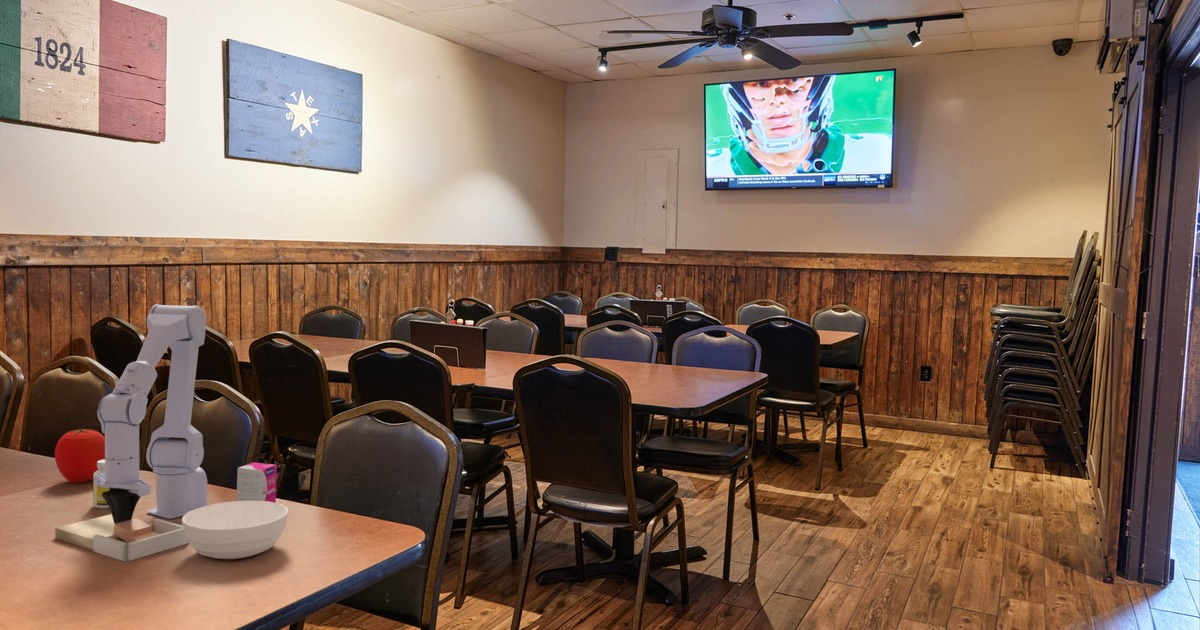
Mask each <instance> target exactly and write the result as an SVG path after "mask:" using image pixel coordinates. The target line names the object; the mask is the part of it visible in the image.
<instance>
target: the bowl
mask: <svg viewBox="0 0 1200 630" xmlns="http://www.w3.org/2000/svg"><path fill="white" fill-rule="evenodd" d="M288 516H289V509H288V507H287V506H285V505H283V504H280V503H277V502H276V503H273V502H267V501H237V500H236V501H235V500H234V501H226V502H225V501H224V502H218V503H212V504H207V506H204V507H200V508H197V509H194V510H192V511H190V512H188V513H186V514H185V515H183V516H182V517H181V523H182V524H181V525H182V526H183V529H184V534H185V536H186V537H187V538H188V539H189V545H190V546H191V547H192V548H193V549H194V551H196V552H197V553H198V554H199V555H202V556H204V557H209V558H213V559H217V560H239V559H245V558H249V557H253V556H256V555H258V554H260V553H263V552H265V551H267V550H269V549H271V548H272V547H273V546H274V545H275V544H276V543H277V542H278V540H279V539H280V538H281V534H282V531H284V530H285V528H286V526H287V521H288Z"/></svg>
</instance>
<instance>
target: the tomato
mask: <svg viewBox="0 0 1200 630" xmlns="http://www.w3.org/2000/svg"><path fill="white" fill-rule="evenodd" d="M104 459H105V435H103V434H102V433H101V432H99V431H97V430H94V429H87V428H85V429H84V428H79V429H76V430H71V431H67V432H65V433H64V434H63V435H62V436H61V437H60V438H59V439H58V442H57V443H56V445H55V450H54V460H55V464H56V467H57V469H58V471H59V473H60V474H61V475H62V477H64V478H65V480H67V481H68V482H71V483H74V484H77V483H78V484H79V483H85V482H89V481H91V480H92V481H93V475H94V473H95V472H96V471H98V468H97V462H98V461H99V460H104Z"/></svg>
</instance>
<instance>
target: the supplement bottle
mask: <svg viewBox="0 0 1200 630" xmlns="http://www.w3.org/2000/svg"><path fill="white" fill-rule="evenodd" d="M97 468H98V471H96V472H95V473H94V475H93V479H92V482H93V485H92V486H93V491H92V492H93V493H92V494H93V499H92V500H93V507H94V508H96V509H110V508H109V506H108V504H107V502H106V501H105V499H104V498H103V496H102V493H103V492H106V491H109V489H110V487H109V488H102V487H99V485H95V475H98V474H103V473H105V459H104V460H99V461H98V462H97Z"/></svg>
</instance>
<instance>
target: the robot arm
mask: <svg viewBox="0 0 1200 630" xmlns="http://www.w3.org/2000/svg"><path fill="white" fill-rule="evenodd" d="M146 326H147V331H148V333H147V335H146V338H145V340H144V341H143V345H142V347H141V349H140V352H139V354H138V356H137V359H136V361H132V362H130V363H127V365H126V367H125V368H124V371H123V373H122V375H121V376H120V378H119V379H118V382H117V383H116V385H115V387H114V389H113V390H112V392H111V393H109V394H107V395H106V396H104V397H103V398H102V399H101V400H100V401H99V403H98V410H97V411H96V413H97V414H96V415H97V418H98V420H99V422H100V427H101V428H100V429H101V432H102V433H103V434H104V437H105V473H103V474H98V475H95V485H99V487H102V488H109V487H110V489H109V491H106V492H103V493H102V496H103V498H104V499H105V501H106V502H107V504H108V506H109V508H108V509H109V510H110V514H112V517H113V521H114V524H116V523H120V522H124V521H127V520H131V519H132V517H133V515H134V513H135V509H136V506H137V504H138V503H139V500H140V499H141V497H145V496H150V495H151V494H152V489H151V487H152V484H151V483H147V482H146V481H145V480H143V478H141V477H140V424H141V423H142V421H143V420H144V419H145V418H146V417H145V416H146V413H147V404H148V403H149V402H148V401H149V399H148V395H149V393H150V392H151V389H152V387H153V386H154V384H155V381H156V380H157V378H158V373H157V370H156V367H157V365H158V363H160V361H161V359H162V358H163V356H164V354H165V353H166V351H167V350H168V348H169V349H170V350H171V355H170V356H171V357H170V358H171V359H170V367H169V374H168V375H169V377H168V386H167V394H166V404H165V412H164V422H163V424H162V425H161V426H160V427H158V428H157V429H156V430H154V431H153V432H152V433H151V437H150V440H149V444H148V447H147V449H146V455H145V456H146V462H147V465H148V466H149V468H151V469H152V472H153V473H155V474H156V480H155V481H156V483H155V484H156V488H155V489H156V492H155V494H156V496H155V497H156V507H155V508H152V509H148V510H146V511H147V514H151V515H154V516H158V517H162V518H166V519H168V520H170V519H176V518H178V517H183V516H184V515H185V514H186V513H188V512H190V511H192V510H194V509H197V508H200V507H204V506H207V505H208V478H207V473H206V472H205V470H204V469H203V468H202V467H200V466H201V464H202V462H203V459H204V456H205V455H204V454H205V452H204V451H205V450H204V445H203V444H204V441H203V438H204V436H203V434H202V433H201V432H200V431H199V429H197V428H195V427H194V426H193V425H192V424H191V422H192V416H193V415H192V413H193V402H194V395H195V385H196V384H195V383H196V375H197V366H198V358H199V356H198V355H199V347H201V346H203V345H204V344H205V339H206V330H207V317H206V314H205V312H204V309H203V308H202V307H201V306H200V305H171V304H169V305H168V304H167V305H165V304H160V303H159V304H158V303H157V304H154V305H153V306H151V308H150V310H149V312H148V315H147V316H146ZM169 438H179V439H169ZM180 438H182V439H180Z"/></svg>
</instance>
